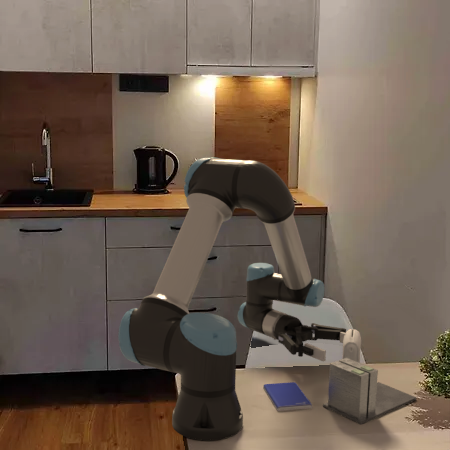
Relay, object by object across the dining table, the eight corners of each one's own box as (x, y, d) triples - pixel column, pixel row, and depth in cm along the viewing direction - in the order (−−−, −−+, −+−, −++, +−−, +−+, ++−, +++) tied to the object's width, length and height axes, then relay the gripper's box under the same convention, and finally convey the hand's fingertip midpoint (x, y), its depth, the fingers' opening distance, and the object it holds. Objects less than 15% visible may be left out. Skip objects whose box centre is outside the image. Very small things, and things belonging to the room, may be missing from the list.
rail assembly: (360, 424, 155) (363, 377, 153) (322, 406, 163) (325, 361, 161) (416, 399, 168) (419, 356, 166) (378, 384, 176) (381, 342, 174)
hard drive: (312, 403, 162) (295, 381, 174) (277, 406, 161) (263, 384, 173) (312, 410, 163) (295, 387, 175) (277, 413, 161) (263, 390, 173)
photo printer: (358, 388, 174) (360, 339, 171) (340, 386, 174) (342, 338, 172) (359, 371, 183) (362, 325, 181) (342, 370, 184) (344, 324, 182)
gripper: (313, 330, 205) (373, 352, 189) (249, 350, 189) (308, 376, 173) (314, 305, 204) (374, 325, 188) (249, 323, 188) (309, 346, 172)
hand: (343, 349), depth 181 cm, fingers open, 13 cm apart
